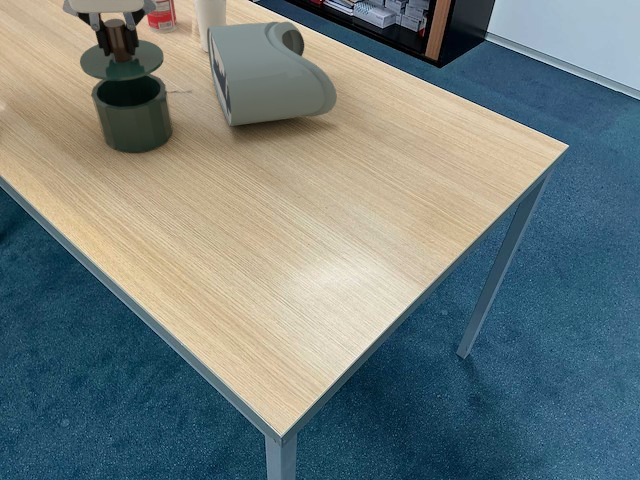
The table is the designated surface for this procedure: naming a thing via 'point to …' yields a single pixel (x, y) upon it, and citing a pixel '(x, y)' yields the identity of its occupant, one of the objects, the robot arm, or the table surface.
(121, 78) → the lid
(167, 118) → the pot
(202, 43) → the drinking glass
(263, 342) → the table surface
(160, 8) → the pill bottle
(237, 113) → the gray curved housing
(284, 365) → the table surface
